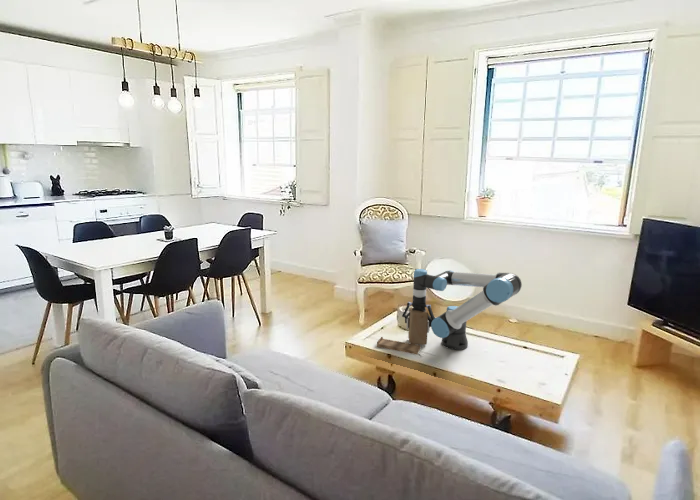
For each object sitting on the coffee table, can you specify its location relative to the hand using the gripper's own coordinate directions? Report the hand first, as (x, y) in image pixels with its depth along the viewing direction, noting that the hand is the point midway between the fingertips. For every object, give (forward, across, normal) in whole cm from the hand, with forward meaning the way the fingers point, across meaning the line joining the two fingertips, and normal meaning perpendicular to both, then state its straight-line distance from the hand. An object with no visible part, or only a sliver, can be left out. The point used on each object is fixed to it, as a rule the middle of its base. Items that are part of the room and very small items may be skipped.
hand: (417, 330), depth 262 cm
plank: (+8, +8, +11) cm, 16 cm away
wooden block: (+8, 0, 0) cm, 8 cm away
